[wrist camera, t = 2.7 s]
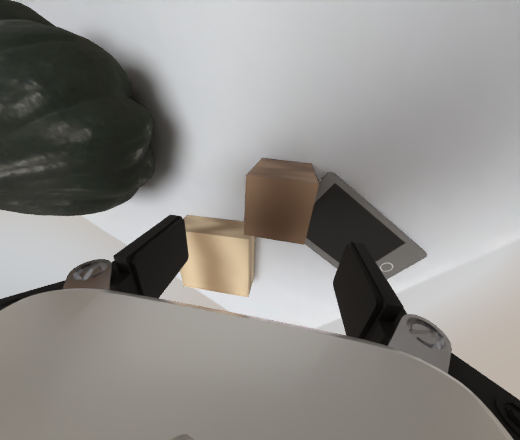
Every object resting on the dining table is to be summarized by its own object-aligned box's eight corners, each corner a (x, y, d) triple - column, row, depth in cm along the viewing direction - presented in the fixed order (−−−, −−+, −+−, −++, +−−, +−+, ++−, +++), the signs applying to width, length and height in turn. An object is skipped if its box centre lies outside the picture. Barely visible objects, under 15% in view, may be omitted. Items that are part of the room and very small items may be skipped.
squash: (-115, -68, 11) (-481, 113, 6) (114, -49, 10) (-107, 179, 5) (88, 123, 25) (21, 229, 20) (196, 139, 24) (153, 254, 19)
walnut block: (311, 163, 18) (318, 184, 12) (302, 208, 21) (304, 244, 15) (262, 157, 19) (246, 175, 13) (258, 202, 21) (243, 234, 15)
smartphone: (278, 221, 23) (277, 224, 22) (329, 168, 19) (330, 170, 18) (364, 287, 25) (366, 291, 24) (425, 251, 21) (429, 255, 20)
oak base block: (255, 221, 23) (248, 239, 20) (254, 274, 27) (248, 297, 24) (188, 214, 24) (170, 229, 21) (197, 266, 29) (183, 286, 25)
